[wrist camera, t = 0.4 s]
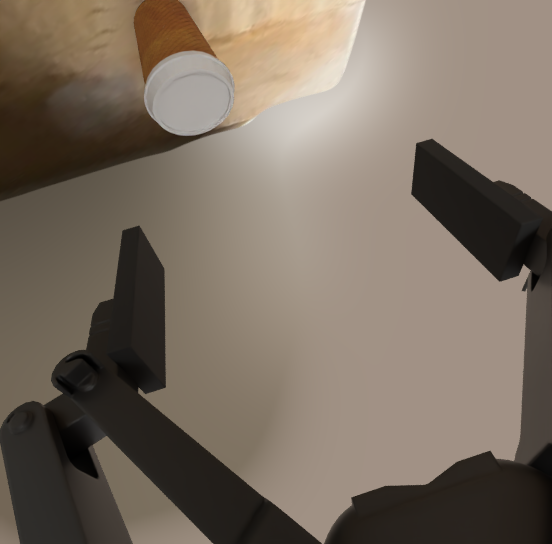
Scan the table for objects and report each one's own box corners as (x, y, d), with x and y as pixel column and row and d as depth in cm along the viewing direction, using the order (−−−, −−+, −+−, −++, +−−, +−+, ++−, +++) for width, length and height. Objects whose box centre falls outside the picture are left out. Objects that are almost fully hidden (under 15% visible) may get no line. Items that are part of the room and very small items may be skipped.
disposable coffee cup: (190, -36, 36) (229, 50, 32) (211, 48, 45) (244, 121, 41) (100, -6, 35) (130, 85, 32) (140, 73, 44) (167, 149, 41)
